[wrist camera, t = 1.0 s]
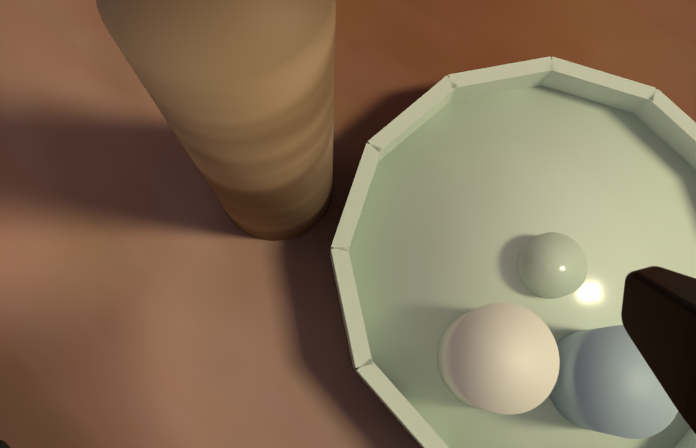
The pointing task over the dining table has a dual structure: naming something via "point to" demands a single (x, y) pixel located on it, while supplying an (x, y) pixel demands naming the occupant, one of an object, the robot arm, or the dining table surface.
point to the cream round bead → (499, 359)
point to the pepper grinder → (242, 98)
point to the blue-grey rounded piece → (609, 385)
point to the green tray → (510, 232)
